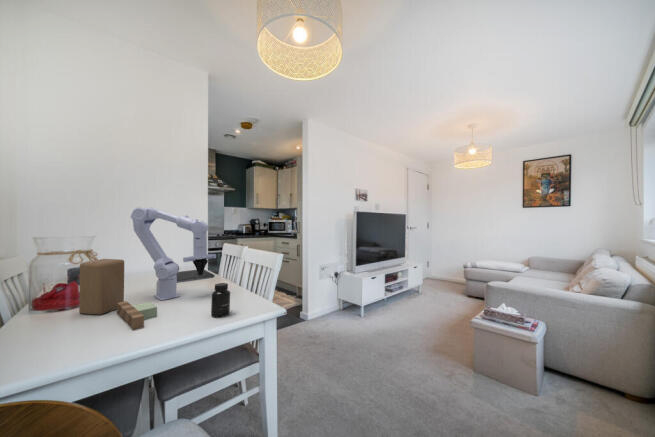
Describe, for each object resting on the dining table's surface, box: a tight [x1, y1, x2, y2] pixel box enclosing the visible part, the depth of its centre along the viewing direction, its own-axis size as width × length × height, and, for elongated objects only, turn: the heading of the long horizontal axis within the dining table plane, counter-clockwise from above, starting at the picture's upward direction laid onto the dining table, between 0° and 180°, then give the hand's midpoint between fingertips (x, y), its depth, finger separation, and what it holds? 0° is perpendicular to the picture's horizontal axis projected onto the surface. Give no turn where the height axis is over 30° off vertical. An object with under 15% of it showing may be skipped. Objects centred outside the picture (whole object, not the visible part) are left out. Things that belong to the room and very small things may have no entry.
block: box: [78, 258, 125, 316], centre depth 100 cm, size 10×10×20 cm
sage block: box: [132, 301, 158, 321], centre depth 95 cm, size 8×6×4 cm
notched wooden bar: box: [116, 300, 145, 331], centre depth 92 cm, size 22×3×4 cm, turn 51°
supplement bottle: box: [210, 282, 231, 318], centre depth 98 cm, size 7×7×12 cm
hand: (200, 274), depth 119 cm, fingers closed
